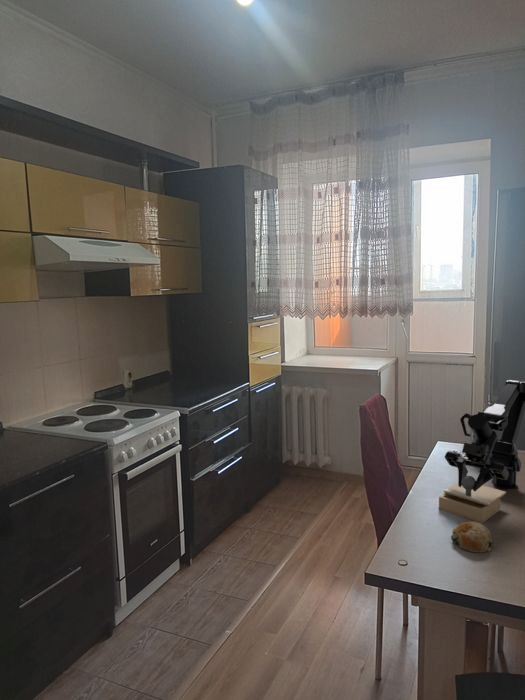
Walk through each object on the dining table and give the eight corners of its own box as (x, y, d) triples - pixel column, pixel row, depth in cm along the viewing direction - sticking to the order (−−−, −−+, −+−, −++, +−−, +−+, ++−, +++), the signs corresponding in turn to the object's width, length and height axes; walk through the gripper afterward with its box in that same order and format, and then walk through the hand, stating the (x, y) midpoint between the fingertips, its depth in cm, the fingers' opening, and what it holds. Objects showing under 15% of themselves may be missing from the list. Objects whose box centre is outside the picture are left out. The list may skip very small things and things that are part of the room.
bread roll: (480, 568, 136) (495, 546, 134) (444, 544, 141) (458, 522, 138) (486, 551, 145) (501, 530, 142) (452, 529, 149) (466, 507, 146)
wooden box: (456, 497, 172) (457, 485, 171) (499, 510, 161) (500, 498, 161) (438, 508, 164) (439, 496, 163) (482, 523, 153) (482, 510, 153)
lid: (462, 481, 174) (462, 461, 173) (505, 493, 163) (506, 472, 162) (443, 492, 165) (443, 472, 164) (488, 506, 155) (489, 484, 154)
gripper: (447, 426, 168) (429, 468, 162) (506, 438, 155) (489, 484, 149) (458, 444, 175) (441, 485, 169) (516, 457, 161) (499, 502, 155)
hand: (466, 488), depth 160 cm, fingers closed on lid, 4 cm apart
